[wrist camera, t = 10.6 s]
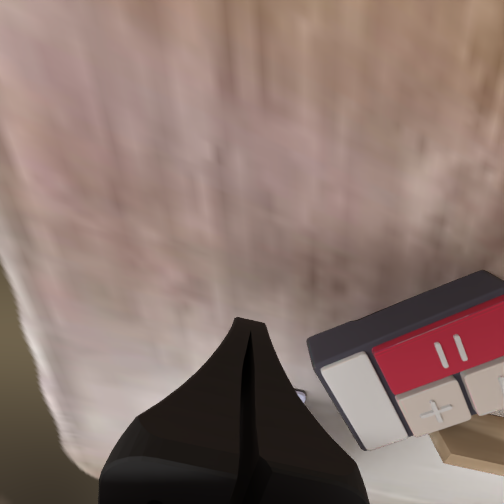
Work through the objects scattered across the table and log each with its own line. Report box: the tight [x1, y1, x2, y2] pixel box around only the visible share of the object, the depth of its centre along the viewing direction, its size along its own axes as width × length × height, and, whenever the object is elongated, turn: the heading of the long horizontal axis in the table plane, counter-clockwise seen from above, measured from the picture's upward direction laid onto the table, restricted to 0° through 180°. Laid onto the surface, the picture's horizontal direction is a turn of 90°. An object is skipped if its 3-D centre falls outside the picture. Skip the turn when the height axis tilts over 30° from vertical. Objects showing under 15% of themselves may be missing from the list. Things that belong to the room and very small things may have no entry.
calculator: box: [307, 270, 504, 451], centre depth 24 cm, size 11×4×15 cm
